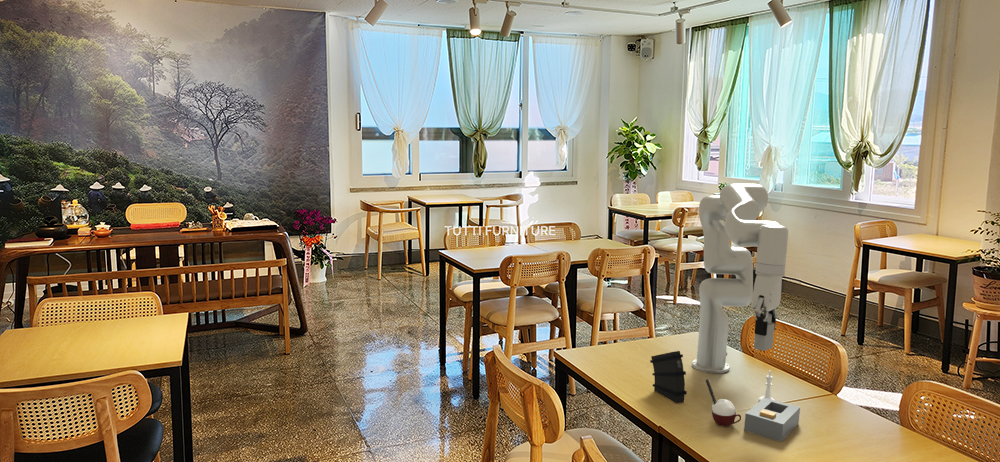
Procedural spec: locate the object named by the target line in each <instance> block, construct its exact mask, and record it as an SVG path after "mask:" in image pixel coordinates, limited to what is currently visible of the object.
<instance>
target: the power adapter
mask: <svg viewBox="0 0 1000 462" xmlns="http://www.w3.org/2000/svg"><path fill="white" fill-rule="evenodd" d="M763 310H765V308H763ZM764 314H765V313H764V312H763V315H764ZM771 320H772V315H771V314H769V312H768V316H767V321H766V322H768V326H767V335H766V336H763V335H758V334H755V333H754V339H753V340H754V341H753V342H754V343H753V350H754V349H755V350H758V351H761V352H763V351H764V352H765V351H768V350H770V349H773V348H774V347H773V345H774V335H775V330H774V325H775V326H776V323H773V322H771Z"/></svg>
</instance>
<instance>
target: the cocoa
mask: <svg viewBox="0 0 1000 462" xmlns="http://www.w3.org/2000/svg"><path fill="white" fill-rule="evenodd" d="M705 383H706V386H707V388H708V391H709V394H710V397H711V400H712V402H713V404H712V405H711V415H712V419H713V422H714V423H715V424H717V425H718V426H720V427H729V426H732V425H735V424H737V423H739V422H740V421H741V420H742V416H741V414H739V413H737V412H736V407H735V405H734V404H733V402H732V401H731V400H728V399H726V398H720V399H718V400H717V398H716V396H715V393H714V391H713V388H712V385H711V382H710V379H709V378H708V377H707V378H706V379H705ZM736 417H739V419H738V420H736Z"/></svg>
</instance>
